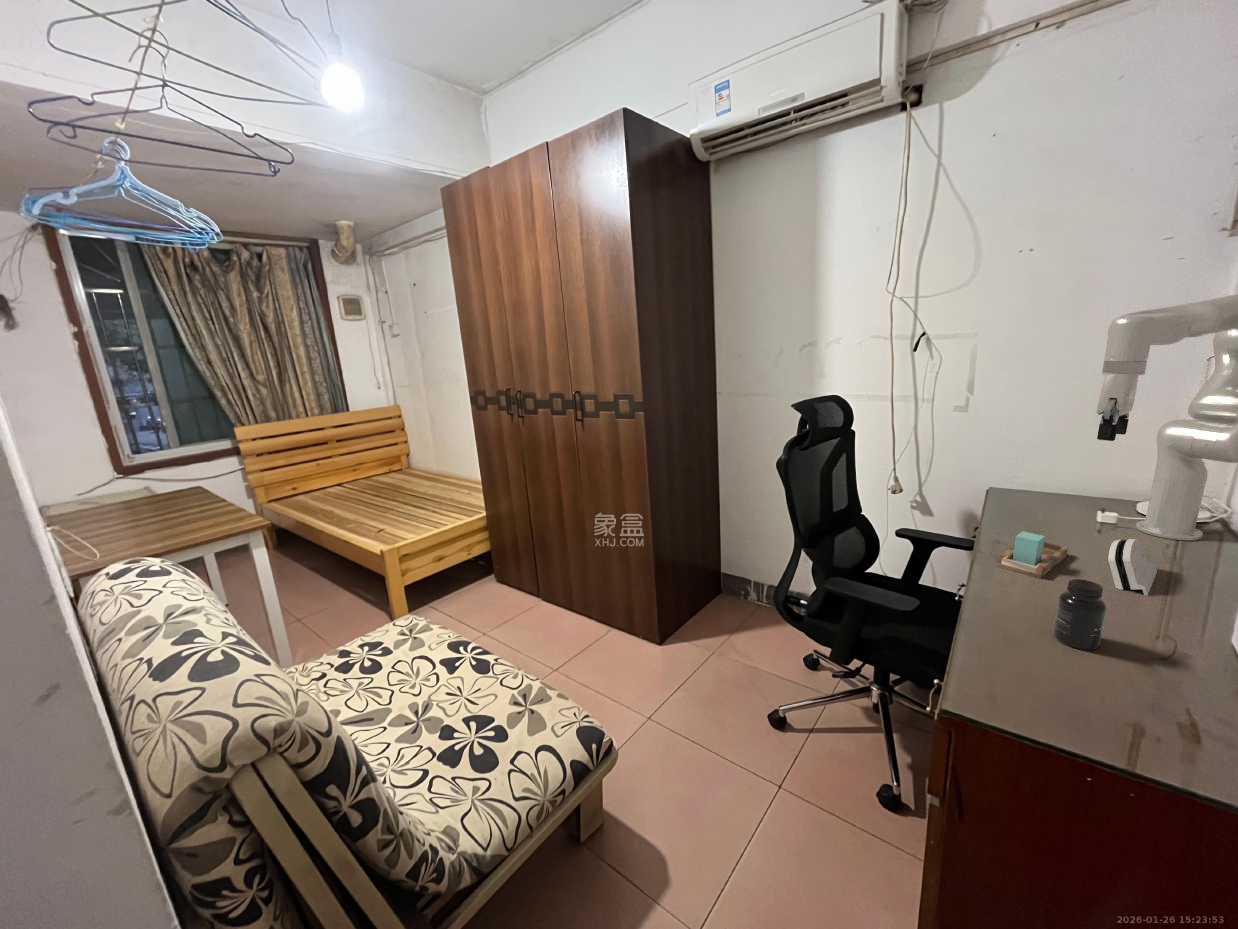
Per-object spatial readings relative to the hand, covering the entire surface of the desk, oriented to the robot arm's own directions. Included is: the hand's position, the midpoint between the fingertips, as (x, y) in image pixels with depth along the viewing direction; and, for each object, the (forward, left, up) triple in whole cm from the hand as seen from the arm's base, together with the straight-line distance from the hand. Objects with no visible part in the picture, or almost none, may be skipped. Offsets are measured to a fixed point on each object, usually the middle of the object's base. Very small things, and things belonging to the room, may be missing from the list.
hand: (1111, 436), depth 126 cm
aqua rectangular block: (+23, -7, -29) cm, 38 cm away
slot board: (+20, -7, -30) cm, 37 cm away
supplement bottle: (+53, +10, -31) cm, 62 cm away
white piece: (+14, +10, -31) cm, 35 cm away
